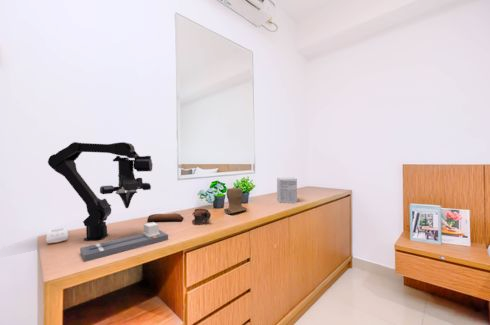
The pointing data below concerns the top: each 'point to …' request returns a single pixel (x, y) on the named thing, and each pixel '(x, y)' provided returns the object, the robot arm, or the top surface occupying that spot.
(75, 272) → the top surface
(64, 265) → the top surface
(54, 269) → the top surface
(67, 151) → the robot arm
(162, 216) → the sunglasses case
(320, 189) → the top surface
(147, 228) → the fader knob
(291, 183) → the supplement box
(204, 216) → the pottery mug
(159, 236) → the fader track
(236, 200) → the brown rounded stand
